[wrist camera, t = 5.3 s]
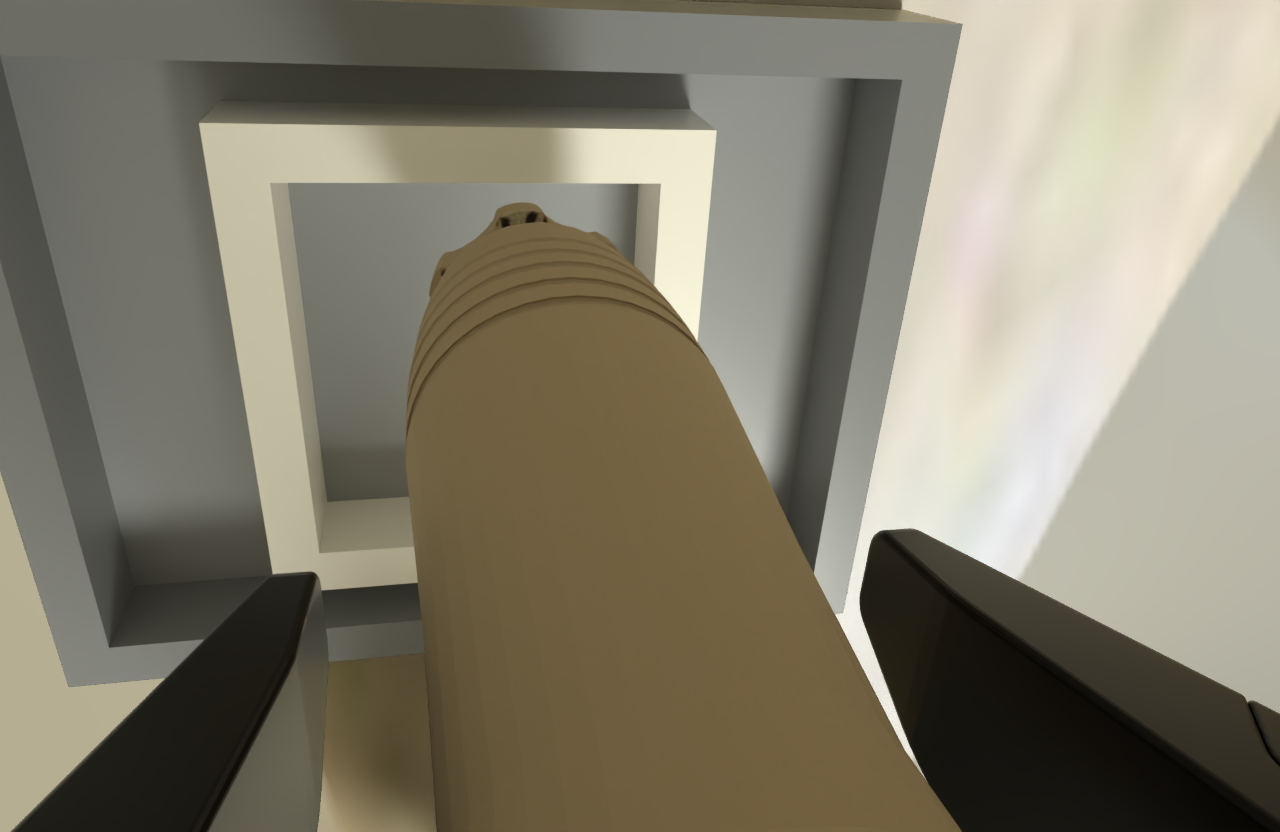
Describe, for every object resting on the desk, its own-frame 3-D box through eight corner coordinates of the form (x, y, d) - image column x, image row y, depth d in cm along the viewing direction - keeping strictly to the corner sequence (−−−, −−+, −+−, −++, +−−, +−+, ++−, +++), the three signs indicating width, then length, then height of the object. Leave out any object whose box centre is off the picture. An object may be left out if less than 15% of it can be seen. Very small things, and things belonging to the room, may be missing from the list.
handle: (305, 173, 15) (-484, 1874, 2) (696, 125, 16) (1955, 1063, 3) (371, 436, 17) (211, 2014, 4) (709, 380, 18) (1431, 1545, 5)
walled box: (808, 554, 26) (843, 613, 24) (102, 612, 23) (68, 687, 20) (903, 9, 20) (962, 24, 17) (-78, -32, 16) (-156, -21, 14)
